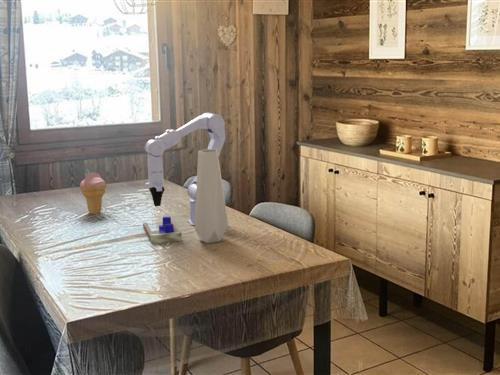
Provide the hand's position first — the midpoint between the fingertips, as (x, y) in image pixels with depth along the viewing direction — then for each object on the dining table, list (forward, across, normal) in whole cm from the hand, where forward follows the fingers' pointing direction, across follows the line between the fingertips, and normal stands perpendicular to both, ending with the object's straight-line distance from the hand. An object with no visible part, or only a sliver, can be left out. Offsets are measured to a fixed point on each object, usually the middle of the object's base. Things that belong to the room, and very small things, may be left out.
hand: (157, 205), depth 235 cm
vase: (+9, +22, +16) cm, 28 cm away
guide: (+9, +8, 0) cm, 12 cm away
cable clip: (+9, +11, +1) cm, 15 cm away
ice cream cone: (+9, -32, -22) cm, 40 cm away
